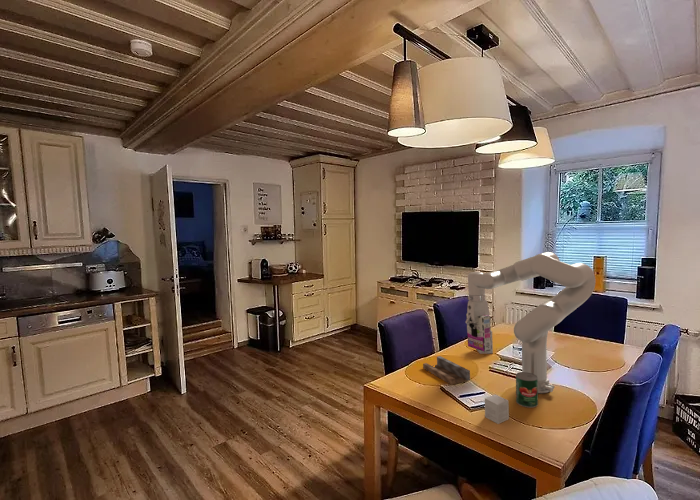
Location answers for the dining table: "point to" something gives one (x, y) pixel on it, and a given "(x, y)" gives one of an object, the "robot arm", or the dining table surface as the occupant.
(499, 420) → the grey block
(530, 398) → the canned tomato
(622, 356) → the dining table surface
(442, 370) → the grey channel tray
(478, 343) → the candy bar box
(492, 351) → the supplement box
